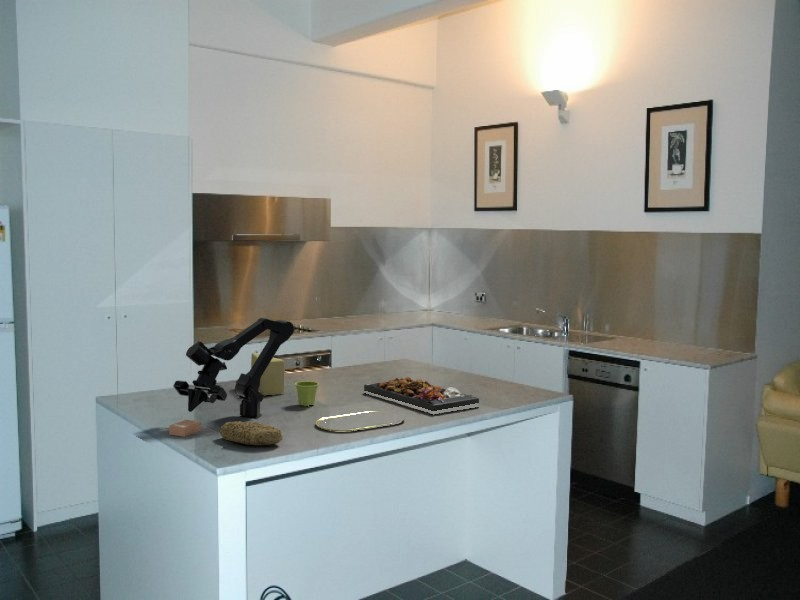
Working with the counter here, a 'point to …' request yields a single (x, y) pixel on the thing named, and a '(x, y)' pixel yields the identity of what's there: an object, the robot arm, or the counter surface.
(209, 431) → the mat
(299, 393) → the plant pot
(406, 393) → the food platter
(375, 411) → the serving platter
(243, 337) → the robot arm
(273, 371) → the cheese
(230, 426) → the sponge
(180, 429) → the card box
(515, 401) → the counter surface
